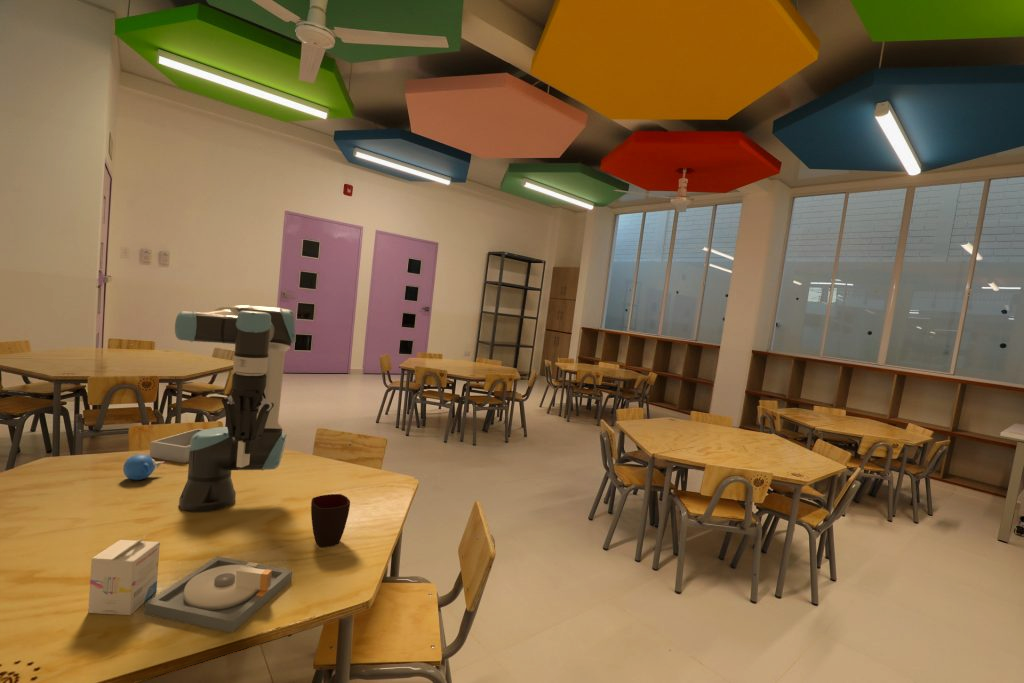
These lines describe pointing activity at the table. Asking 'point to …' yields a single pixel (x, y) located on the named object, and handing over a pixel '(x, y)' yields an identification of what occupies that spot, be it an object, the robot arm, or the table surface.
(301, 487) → the table surface
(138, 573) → the ink box
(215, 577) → the dial
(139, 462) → the blue mole toy
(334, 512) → the cup
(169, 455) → the tray
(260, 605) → the dial plate
